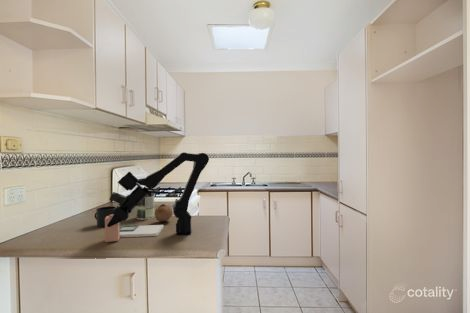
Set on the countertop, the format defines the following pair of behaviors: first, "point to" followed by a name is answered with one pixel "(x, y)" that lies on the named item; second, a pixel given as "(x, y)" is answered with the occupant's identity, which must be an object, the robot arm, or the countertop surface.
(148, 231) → the build board
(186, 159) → the robot arm
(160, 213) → the onion
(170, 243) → the countertop surface
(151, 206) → the coffee can
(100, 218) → the mug
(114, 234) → the pillar
